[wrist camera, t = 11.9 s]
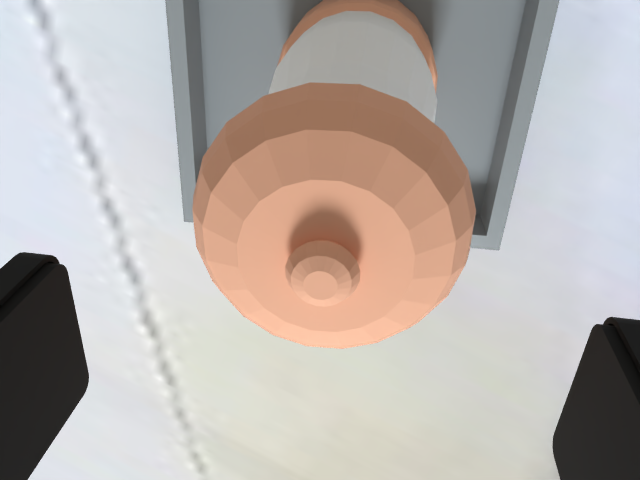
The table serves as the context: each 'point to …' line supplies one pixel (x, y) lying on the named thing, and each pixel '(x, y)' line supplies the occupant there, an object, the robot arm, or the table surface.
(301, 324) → the pepper shaker
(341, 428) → the table surface
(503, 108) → the tray
